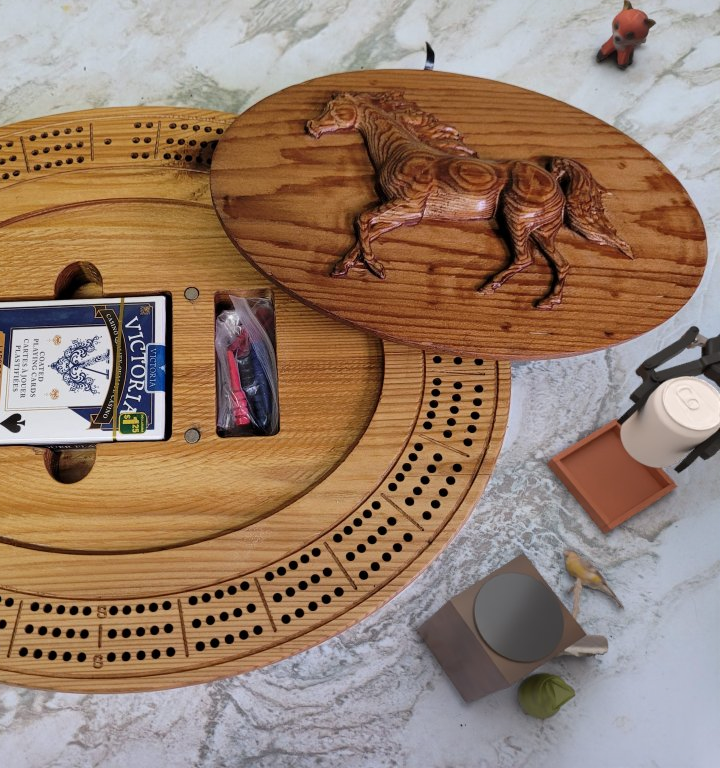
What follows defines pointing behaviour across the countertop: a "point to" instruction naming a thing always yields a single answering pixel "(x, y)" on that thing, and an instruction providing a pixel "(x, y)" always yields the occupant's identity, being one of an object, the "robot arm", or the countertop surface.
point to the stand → (468, 650)
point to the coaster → (518, 617)
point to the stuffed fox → (626, 34)
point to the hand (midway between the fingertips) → (651, 442)
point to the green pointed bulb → (544, 694)
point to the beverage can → (672, 422)
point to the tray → (609, 477)
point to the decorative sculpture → (584, 576)
